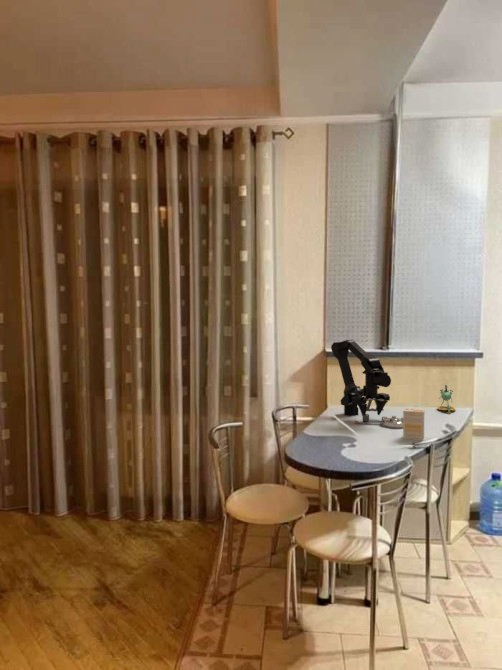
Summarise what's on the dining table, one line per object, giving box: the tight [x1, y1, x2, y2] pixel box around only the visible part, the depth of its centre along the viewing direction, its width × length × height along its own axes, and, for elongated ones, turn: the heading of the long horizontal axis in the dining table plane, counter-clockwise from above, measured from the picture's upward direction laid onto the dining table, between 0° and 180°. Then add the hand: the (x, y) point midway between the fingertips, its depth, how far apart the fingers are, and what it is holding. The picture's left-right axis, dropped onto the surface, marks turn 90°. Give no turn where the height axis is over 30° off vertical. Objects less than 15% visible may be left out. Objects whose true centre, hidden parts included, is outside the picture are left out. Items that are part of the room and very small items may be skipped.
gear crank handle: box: [362, 413, 403, 430], centre depth 236 cm, size 20×12×4 cm, turn 77°
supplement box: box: [402, 408, 425, 441], centre depth 214 cm, size 8×5×13 cm, turn 65°
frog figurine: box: [436, 384, 457, 415], centre depth 269 cm, size 10×18×15 cm, turn 154°
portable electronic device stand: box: [366, 400, 384, 412], centre depth 269 cm, size 9×8×8 cm
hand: (371, 416), depth 243 cm, fingers open, 9 cm apart
